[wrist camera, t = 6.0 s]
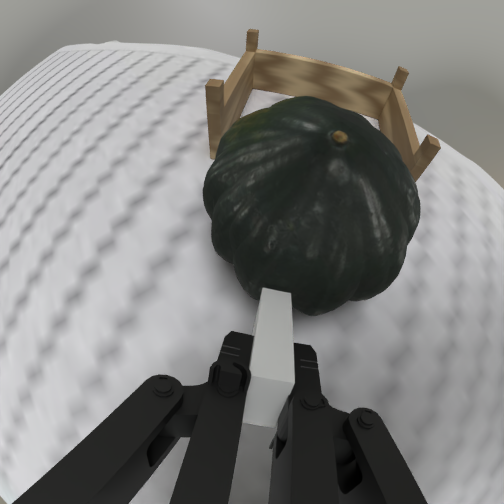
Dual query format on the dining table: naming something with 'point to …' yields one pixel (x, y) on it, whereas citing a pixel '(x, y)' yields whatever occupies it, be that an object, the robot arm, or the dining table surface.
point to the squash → (311, 204)
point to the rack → (320, 86)
